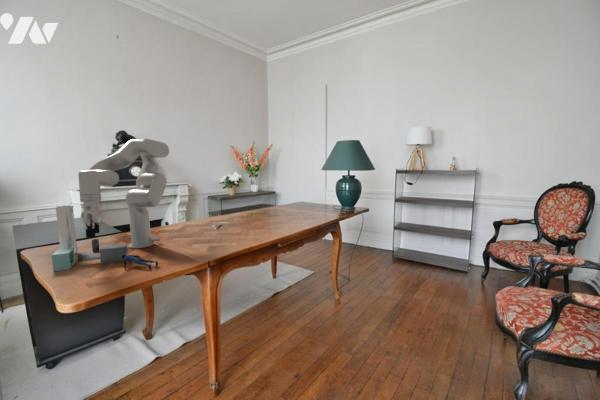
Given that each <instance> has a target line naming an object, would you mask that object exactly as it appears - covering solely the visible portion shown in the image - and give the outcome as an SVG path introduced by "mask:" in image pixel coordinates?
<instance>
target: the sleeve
mask: <svg viewBox="0 0 600 400" xmlns="http://www.w3.org/2000/svg"><path fill="white" fill-rule="evenodd" d="M99 250H100V257H101V259H100V265H106V264H107V265H108V264H113V263H122V262H124V259H123V258H122V255H125V256H128V255H129V252H128V251H129V249H128V242H125V243H117V244H115V243H114V244H107V245H102V246H101V247H100V248H99Z"/></svg>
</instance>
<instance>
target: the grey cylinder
mask: <svg viewBox="0 0 600 400" xmlns="http://www.w3.org/2000/svg"><path fill="white" fill-rule="evenodd" d="M55 213H56V222H57V231H58V232H57V233H58V242H59V249H65V248H74V255H76V254H78V245H77V235H76V226H75V225H76V224H75V217H74V216H75V215H74V208H73V206H72V205H71V204H58V205H56V206H55Z"/></svg>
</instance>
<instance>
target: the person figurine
mask: <svg viewBox="0 0 600 400" xmlns="http://www.w3.org/2000/svg"><path fill="white" fill-rule="evenodd" d="M122 258H123V259H124V261H123V265H124V266H123V268H124V271H126V270H127V268H126V265H127V262H128V263H130V262H131V263H132V262H133V263H134V264H136V265H142V266H146V267H147V268H148V270H149V271H152V267H155V268H158V267H159V262H158V261H154V260H150V259H145V258H143V257H141V256H140V255H137V254H128V256H125V255H122Z"/></svg>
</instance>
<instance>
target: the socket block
mask: <svg viewBox="0 0 600 400" xmlns="http://www.w3.org/2000/svg"><path fill="white" fill-rule="evenodd" d="M75 257H76V254H74V248H65V249H60V248H57V250H56V251H54V253H52V254H51V260H52V270H53V272H59V271H65V270H66V271H67V270H71V269H72V267H73V266H74V265H75V263H76V258H75Z"/></svg>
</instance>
